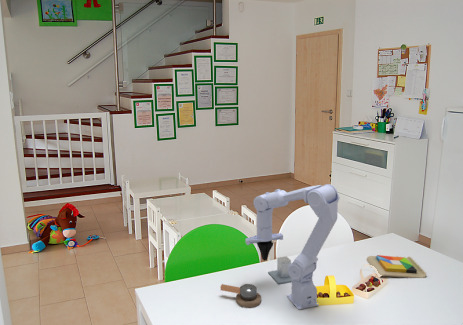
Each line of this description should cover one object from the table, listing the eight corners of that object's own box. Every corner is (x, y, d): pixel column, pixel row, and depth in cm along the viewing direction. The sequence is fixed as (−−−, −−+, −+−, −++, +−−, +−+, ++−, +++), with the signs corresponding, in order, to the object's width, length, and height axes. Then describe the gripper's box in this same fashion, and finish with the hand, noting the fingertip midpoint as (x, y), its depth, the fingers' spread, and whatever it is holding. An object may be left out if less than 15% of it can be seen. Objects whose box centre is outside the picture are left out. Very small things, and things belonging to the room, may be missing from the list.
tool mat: (301, 280, 163) (301, 278, 163) (278, 284, 160) (278, 283, 160) (290, 269, 172) (290, 267, 172) (268, 273, 169) (268, 271, 169)
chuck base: (265, 304, 146) (265, 301, 145) (241, 309, 143) (240, 305, 143) (255, 292, 154) (255, 288, 154) (232, 296, 151) (232, 293, 151)
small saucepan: (259, 293, 150) (259, 285, 149) (253, 302, 144) (253, 293, 144) (224, 287, 155) (224, 279, 154) (218, 295, 149) (218, 287, 149)
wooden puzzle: (427, 279, 163) (428, 270, 162) (379, 279, 163) (379, 271, 163) (409, 259, 180) (409, 252, 180) (365, 260, 181) (366, 252, 180)
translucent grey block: (290, 276, 164) (291, 260, 163) (281, 278, 163) (281, 261, 162) (286, 272, 168) (286, 256, 167) (277, 274, 167) (277, 257, 165)
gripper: (277, 219, 161) (277, 252, 164) (242, 224, 156) (242, 257, 159) (285, 225, 154) (285, 259, 157) (249, 230, 150) (249, 265, 153)
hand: (264, 259), depth 158 cm, fingers closed
